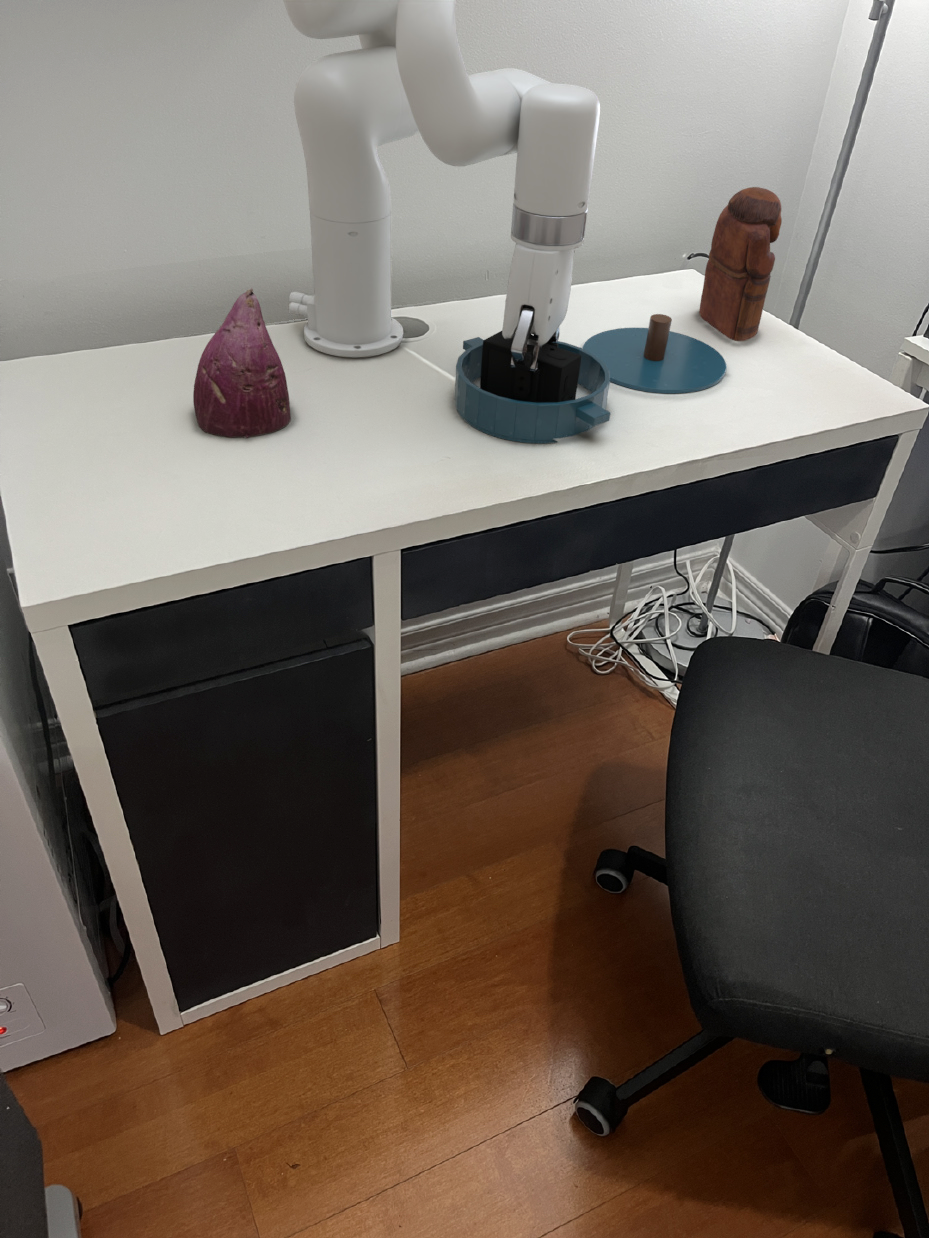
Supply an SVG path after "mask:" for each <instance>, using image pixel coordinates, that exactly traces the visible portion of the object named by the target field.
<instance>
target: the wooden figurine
mask: <svg viewBox="0 0 929 1238" xmlns="http://www.w3.org/2000/svg"><path fill="white" fill-rule="evenodd" d="M782 219H783V218H782V202H781V200H780V198H779V197H778V195H777V194H776V193H774V192H773V191H771V190H769V189H767V188H764V187H760V186H752V187H746V188H742V189H740V190H739V191H737V192H736V193H734V194H733V196H732V197H731V198H730V199H729V200H728V203H727V205H726V206H725V207H724V208H723V209H722V211H721V212H720V214H719V216H718V219H717V221H716V224H715V228H714V231H713V235H712V239H711V245H710V251H709V253H708V260H707V262H706V266H705V270H704V279H703V287H702V293H701V298H700V303H699V311H698V313H699V317H700V318H701V319H702V320H703V321H705V322H706V323H707V324H709V325H710V326H712V327H713V328H714V329H715V330H717V331H718V332H719V333H720V334H722V335H723V336H725V337H727V339H729V340H732V341H735V342H745V341H748V340H750V339H752V338H754V337H755V336H756V335H757V333H758V330H759V327H760V323H761V319H762V315H763V310H764V307H765V302H766V299H767V298H766V297H767V293H768V291H769V290H768V289H769V286H770V282H771V274H772V272H773V269H774V265H775V262H776V255H775V253H774V252H772V251H771V244H773V243H775V242H776V241H777V240H778V238H779V236H780V230H781V227H782V221H783V220H782Z"/></svg>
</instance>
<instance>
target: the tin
mask: <svg viewBox="0 0 929 1238" xmlns="http://www.w3.org/2000/svg"><path fill="white" fill-rule="evenodd" d="M484 340H485V339H483V338H481V337H479V336H477V337H474V338H469V339H466V340H463V342H462V350H464V351H463V352H462V353H461V354H460V355H459V356H458V358H457V361H456V366H455V379H454V380H455V381H454V399H453V400H454V407H455V410H456V412H457V414H458V415H459V417H460V418H461V419H462V420H463V421H464V422H465V423H467V425H469V426H471V427H472V428H474V429H475V430H478V431H480V432H482V433H484V434H486V435H489V436H492V437H494V438H498V439H501V440H504V441H505V440H506V441H511V442H516V443H523V444H556V443H558V441H557V440H558V439H563V438H568V437H574V436H577V435H579V434H583V433H585V432H588V431H590V430H591V429H593V428H595V427H596V426H599V425H602V424H604V423H607V422H609V421H610V417H611V412H610V411H609V410H607V402H608V395H609V390H610V384H611V382H610V372H609V370H608V368H607V366H606V365H605V363H604V362H602V361H601V360H600V359H599V358H598V357H597V356H595V355H594V354H592V353H590V352H588V351H586V350H584V349H582V348H583V347H579V346H576V345H574V344H571V343H568V342H565V341H564V342H563V341H559V340H558V342H557V343H556V342H553V343H556V344H558V348H561V349H564V350H567V351H570V352H573V353H576V354H579V355H581V364H580V371H579V378H578V385H580V386H581V387H584V388H585V389H586V390H588V392H590V394H587V395H584V396H582V397H579V398H576V399H575V400H569V401H563V402H555V403H535V402H525V401H517V400H513V399H509V398H504V397H500V396H497V395H494V394H492V393H489V392H487V391H484V390H482V389H481V388H480V386H478V385H476V384H474V383H473V382H474V381H475V380H478V379H480V378H481V363H482V347H483V341H484Z"/></svg>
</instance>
